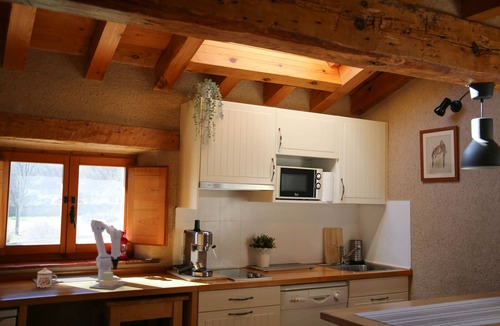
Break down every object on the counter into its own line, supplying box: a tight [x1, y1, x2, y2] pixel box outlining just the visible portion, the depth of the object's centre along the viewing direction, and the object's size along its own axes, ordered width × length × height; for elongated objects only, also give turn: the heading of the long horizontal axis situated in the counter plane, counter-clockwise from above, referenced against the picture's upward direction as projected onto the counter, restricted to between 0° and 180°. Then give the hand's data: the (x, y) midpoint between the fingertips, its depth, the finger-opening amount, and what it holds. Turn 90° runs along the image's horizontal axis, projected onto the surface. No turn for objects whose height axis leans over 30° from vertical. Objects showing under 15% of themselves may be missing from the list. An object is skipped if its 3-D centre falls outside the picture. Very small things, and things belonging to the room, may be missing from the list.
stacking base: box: [89, 278, 127, 291], centre depth 326 cm, size 20×16×4 cm
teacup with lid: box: [36, 267, 58, 289], centre depth 320 cm, size 12×9×12 cm
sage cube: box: [103, 271, 114, 281], centre depth 326 cm, size 5×5×5 cm
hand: (115, 268), depth 334 cm, fingers open, 7 cm apart
